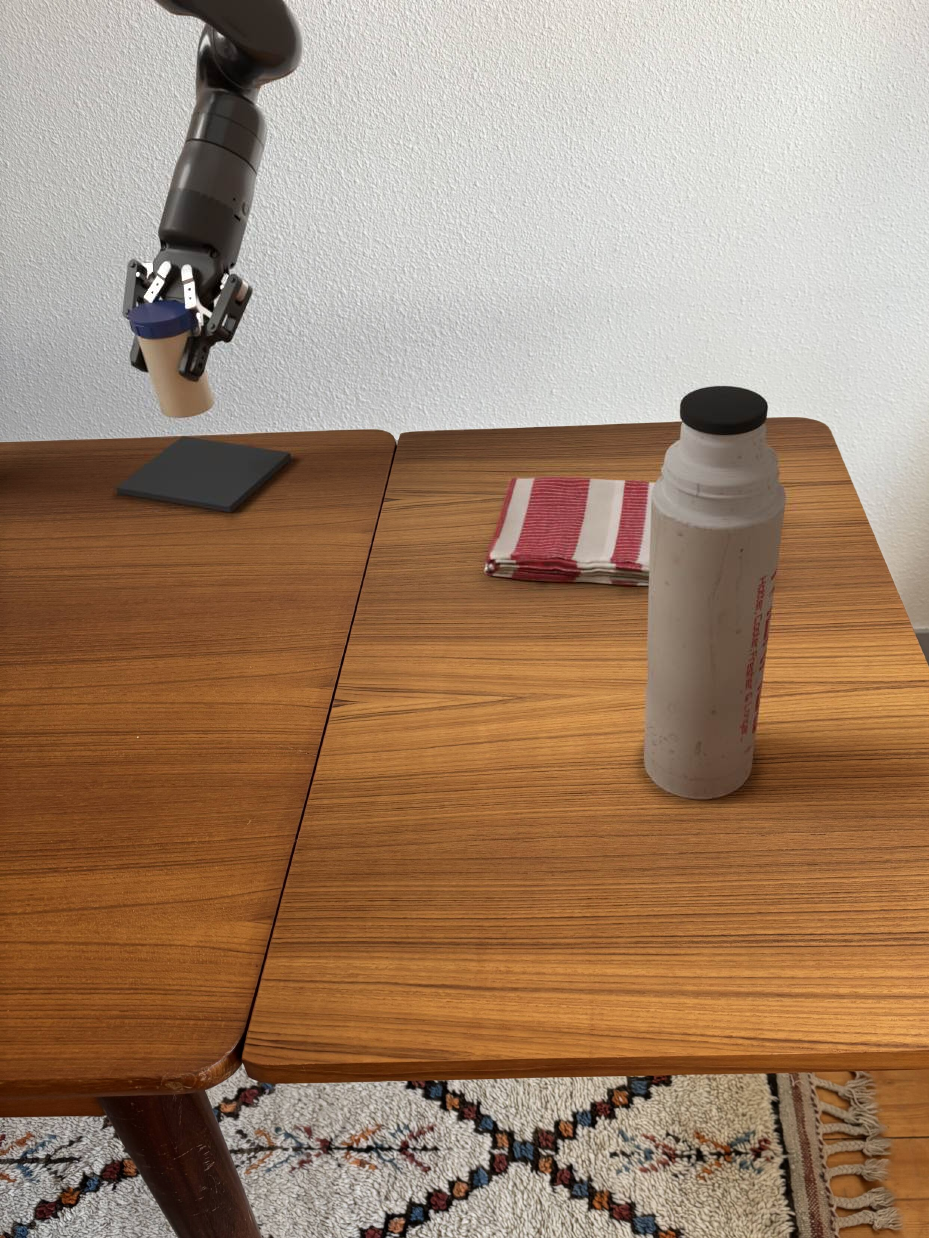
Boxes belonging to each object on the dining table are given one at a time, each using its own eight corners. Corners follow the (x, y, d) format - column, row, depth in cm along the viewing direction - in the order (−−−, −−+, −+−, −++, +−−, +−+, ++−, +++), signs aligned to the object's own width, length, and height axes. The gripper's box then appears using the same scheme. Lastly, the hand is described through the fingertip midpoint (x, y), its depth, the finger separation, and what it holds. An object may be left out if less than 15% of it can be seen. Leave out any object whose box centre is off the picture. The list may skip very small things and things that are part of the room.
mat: (117, 493, 110) (115, 487, 110) (184, 442, 118) (182, 435, 118) (231, 513, 106) (229, 506, 106) (292, 459, 115) (290, 452, 114)
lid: (120, 334, 100) (115, 319, 99) (156, 312, 104) (152, 296, 103) (171, 341, 99) (166, 325, 98) (206, 317, 103) (202, 302, 102)
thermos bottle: (768, 746, 79) (818, 386, 59) (726, 814, 74) (766, 445, 54) (671, 713, 82) (690, 361, 62) (625, 777, 77) (629, 415, 58)
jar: (149, 414, 106) (120, 323, 100) (180, 392, 110) (154, 302, 103) (194, 421, 105) (167, 329, 98) (224, 398, 108) (200, 308, 102)
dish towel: (740, 592, 93) (743, 567, 91) (482, 581, 96) (480, 556, 94) (741, 496, 105) (743, 472, 104) (512, 488, 108) (510, 465, 106)
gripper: (124, 178, 102) (80, 348, 102) (244, 191, 97) (196, 369, 97) (176, 220, 109) (134, 378, 109) (290, 234, 104) (245, 399, 104)
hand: (164, 373), depth 103 cm, fingers closed on jar, 5 cm apart
